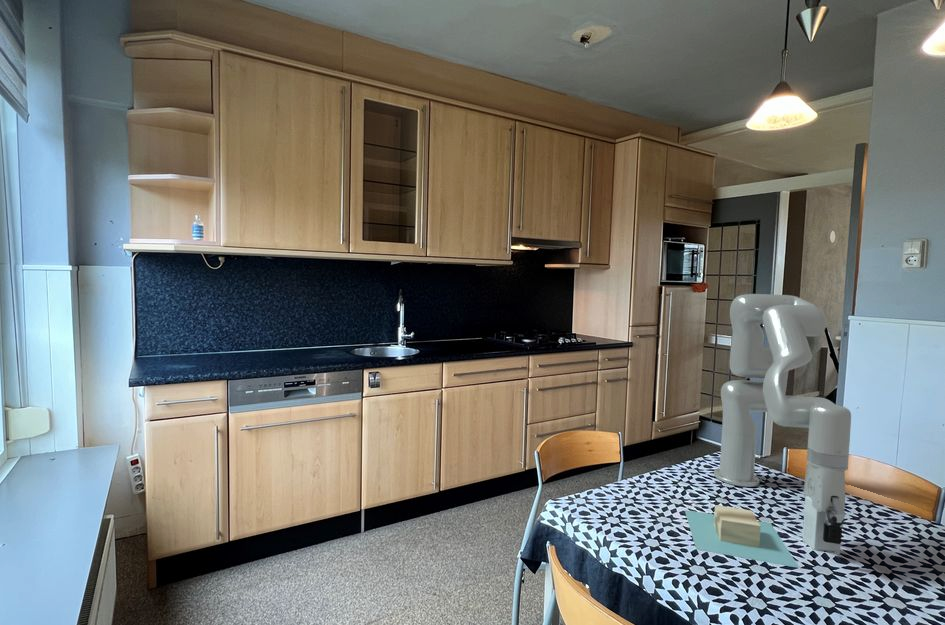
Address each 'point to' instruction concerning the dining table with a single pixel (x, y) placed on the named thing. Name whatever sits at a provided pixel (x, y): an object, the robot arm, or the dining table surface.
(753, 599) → the dining table surface
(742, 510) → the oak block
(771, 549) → the base board
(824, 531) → the robot arm
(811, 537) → the skincare box
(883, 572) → the dining table surface
